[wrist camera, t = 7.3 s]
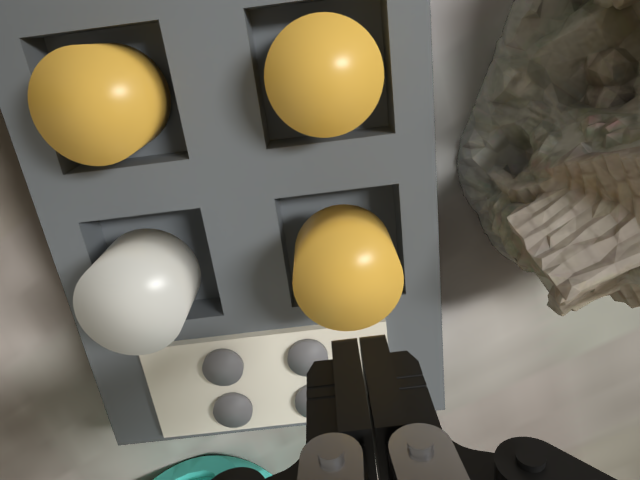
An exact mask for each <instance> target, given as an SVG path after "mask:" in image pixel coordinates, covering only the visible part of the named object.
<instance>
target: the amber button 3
mask: <svg viewBox="0 0 640 480" xmlns="http://www.w3.org/2000/svg"><path fill="white" fill-rule="evenodd" d="M292 284H293V292H294V296H295V299H296V301H297V303H298V305H299V307H300V308H301V310H302V311H303V312H304V314H305V315H306V316H307V317H309V318H310V319H311V320H312V321H314V322H315V323H317V324H319V325H321V326H323V327H325V328H328V329H332V330H337V331H356V330H361V329H365V328H368V327H370V326H373V325H375V324H376V323H378V322H380V321H381V320H383V319H384V318H385V317H386V316H388V315H389V314H390V313H391V311H392V310H393V309H394V308H395V306H396V305H397V303H398V301H399V299H400V297H401V294H402V291H403V285H404V275H403V269H402V266H401V263H400V260H399V258H398V255H397V253H396V250H395V248H394V245H393V243H392V240H391V237H390V235H389V233H388V230H387V228H386V227H385V225H384V223H383V222H382V221H381V220H380V219H379V218H378V217H377V216H376V215H375V214H373V213H372V212H370V211H369V210H367V209H365V208H362V207H359V206H355V205H348V204H341V205H333V206H329V207H326V208H324V209H322V210H320V211H318V212H316V213H315V214H313V215H312V216H311V217H310V218H309V219H308V220H307V221H306V222H305V223H304V224H303V226H302V227H301V229H300V231H299V233H298V235H297V238H296V242H295V253H294V267H293V282H292Z"/></svg>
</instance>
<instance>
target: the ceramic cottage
mask: <svg viewBox="0 0 640 480" xmlns="http://www.w3.org/2000/svg"><path fill="white" fill-rule="evenodd" d="M457 165H458V174H459V178H460V184H461V186H462V188H463V196H464V197H465V198H467V201H468V203H469V204H470V205H471V207H472V209H473V210H474V211H476V212H477V213H478V215H479V218H480V222H481V225H482V228H483V229H484V234H487V235H488V237H489V240H490V241H491V242H492V245H493V246H495V247H496V249H497V250H498V251H499V252H500V253H501V254H502V255H503V256H505V257H506V258H508V259H510V260H512V261H513V262H515V263H517V265H518V266H519V268H521V269H522V270H524V271H526V272H535V273H536V275H537V276H538V277H539V279H540V280H541V282H542V283H543V284H544V286H545V287H546V289H547V290H548V292H549V294H548V299H549V301H548V304H547V305H548V306H549V307H550V308H551V309H552V310H553V311H555V312H556V313H557V314H558V315H561V316H565V315H566V314H567V313H568V312H569V311H571V310H572V311H577V310H579V309H580V308H582V307H584V306H585V305H587V304H589V303H590V302H592V301H594V300H596V299H598V298H601V297H603V296H607V295H610V296H611V297H612V298H613V299H614V301H618V302H625V303H626V304H627V305H629V306H630V307H631V308H635V307H639V306H640V0H515V1H514V2H513V4H512V7H511V10H510V12H509V15H508V18H507V20H506V23H505V26H504V29H503V34H502V37H501V38H500V39H499V40H498V41H497V42H496V49H495V54H494V56H493V61H492V62H491V64H490V65H489V68H488V70H487V74H486V75H485V78H484V81H483V84H482V86H481V88H480V91H479V94H478V96H477V98H476V102H475V106H474V107H473V108H472V112H471V115H470V118H469V120H468V122H467V125H466V127H465V129H464V132H463V134H462V136H461V140H460V148H459V154H458V160H457Z"/></svg>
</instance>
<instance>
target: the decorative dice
mask: <svg viewBox="0 0 640 480" xmlns="http://www.w3.org/2000/svg"><path fill="white" fill-rule="evenodd" d="M236 467H248V468H252V469H255V470H257V471H258V472H260V473H261V474H262V475H263V476H264V478H267V477H270V476H272V474H270V473H269V472H267V471H266V470H264V469H263V468H261V467H260V466H258V465H256V464H254V463H251V462H249V461H246V460H243V459H240V458H236V457H231V456H221V455H212V456H202V457H197V458H193V459H189V460H186V461H184V462H181V463H179V464H177V465H175V466H173V467H171V468H169V469H168V470H166V471H164V472H163V473H161V474H160V475H158V476H157V477H156V478H154V479H153V480H211V479H213V478H214V477H215V476H216V475H218V474H219V473H221V472H223V471H225V470H228V469H231V468H236Z"/></svg>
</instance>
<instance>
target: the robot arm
mask: <svg viewBox="0 0 640 480" xmlns="http://www.w3.org/2000/svg"><path fill="white" fill-rule="evenodd" d="M359 343H360V352H361V360H360V353H359V347H358V341H357V338H351V339H342V340H334V341H331V346H332V359H330V360H321V361H314V362H313V364H312V366H311V367H310V369H309V371H308V372H307V392H306V398H307V401H306V445H305V446H304V448H303V449H302V451H301V453H300V458H299V460H298V461H297V462H296V463H295V464H293V465H292V466H291V467H289V468H288V469H286V470H284V471H282V472H280V473H277V474H275V475H272V476H270V477H267V478H264V476H263V475H262V474H261V473H260V472H258V471H257V470H255V469H252V468H248V467H236V468H231V469H228V470H225V471H223V472H221V473H219V474H218V475H216V476H215V477H214V478H213V479H211V480H377V472H378V478H379V480H617V479H615V478H613V477H611V476H609V475H607V474H605V473H603V472H601V471H600V470H598V469H596V468H594V467H592V466H590V465H588V464H586V463H585V462H583V461H581V460H579V459H577V458H575V457H573V456H571V455H569V454H568V453H566V452H564V451H562V450H560V449H558V448H556V447H554V446H553V445H551V444H549V443H547V442H544V441H542V440H539V439H536V438H531V437H515V438H511V439H508V440H506V441H504V442H502V443H501V444H500V445H499V446H498V447H497V449H496V451H495V453H491V452H484V451H477V450H472V449H469V448H465V447H463V446H461V445H458V444H457V443H455V442H453V441H452V440H451V438H450V437H449V435H448V434H447V433H446V432H445V431H443V430H442V428H441V425H440V422H439V420H438V417H437V414H436V411H435V408H434V405H433V402H432V399H431V396H430V393H429V390H428V387H427V385H426V382H425V379H424V376H423V373H422V370H421V367H420V364H419V361H418V360H417V359H416V358H415V357H414V356H413V355H411V354H410V353H409V352H408V351H407V350H406V351H397V352H390V351H389V347H388V343H387V339H386V336H385V334H384V335H375V336H367V337H359ZM361 361H362V366H361ZM362 370H363V372H362ZM374 453H375V454H374ZM375 459H376V463H375ZM376 466H377V472H376Z"/></svg>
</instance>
